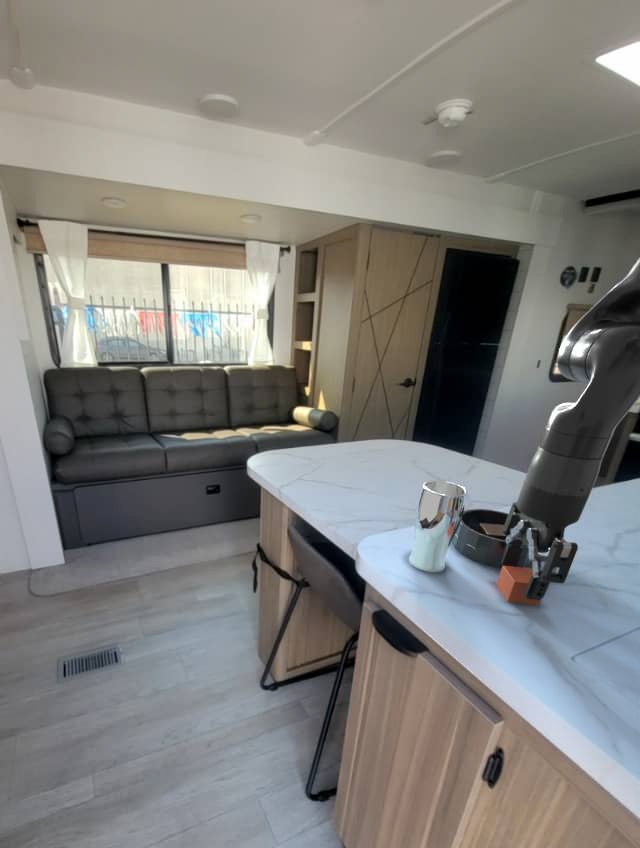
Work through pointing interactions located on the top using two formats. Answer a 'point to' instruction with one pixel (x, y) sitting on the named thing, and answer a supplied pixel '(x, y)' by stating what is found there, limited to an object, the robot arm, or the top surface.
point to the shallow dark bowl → (484, 539)
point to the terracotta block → (515, 584)
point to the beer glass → (436, 523)
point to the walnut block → (491, 530)
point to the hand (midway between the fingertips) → (519, 580)
